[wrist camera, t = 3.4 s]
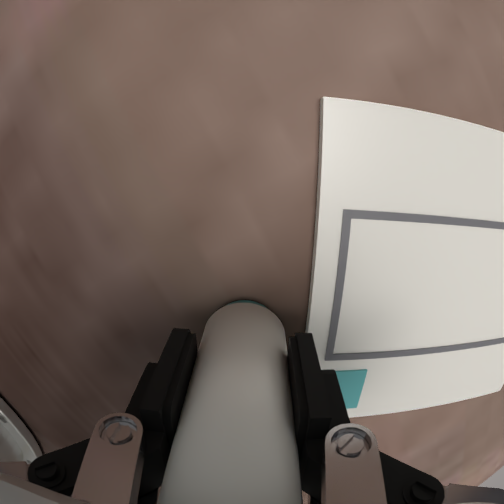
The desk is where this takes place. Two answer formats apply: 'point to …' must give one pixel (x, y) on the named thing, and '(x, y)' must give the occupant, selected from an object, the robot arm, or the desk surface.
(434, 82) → the desk surface
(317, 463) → the robot arm
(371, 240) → the sheet
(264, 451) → the marker
